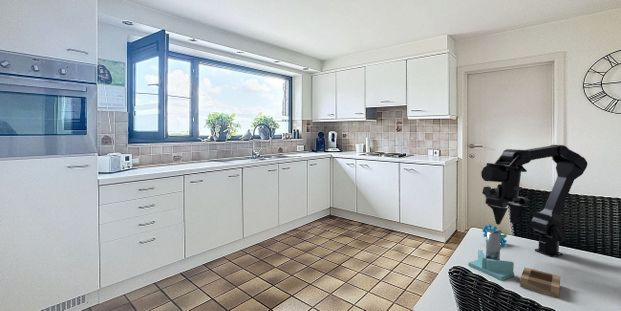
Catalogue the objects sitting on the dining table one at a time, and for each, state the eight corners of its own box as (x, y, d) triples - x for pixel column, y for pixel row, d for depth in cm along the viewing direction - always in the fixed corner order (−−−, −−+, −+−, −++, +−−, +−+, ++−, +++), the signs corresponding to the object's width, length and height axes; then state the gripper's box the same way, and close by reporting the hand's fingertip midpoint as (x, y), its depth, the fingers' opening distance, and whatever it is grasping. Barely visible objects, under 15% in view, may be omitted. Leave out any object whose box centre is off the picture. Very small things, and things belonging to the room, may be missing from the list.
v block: (479, 261, 107) (480, 249, 107) (515, 276, 96) (515, 262, 96) (467, 265, 104) (467, 252, 104) (502, 281, 93) (503, 266, 93)
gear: (490, 245, 118) (480, 222, 125) (481, 251, 123) (472, 229, 129) (514, 247, 120) (503, 225, 127) (504, 253, 125) (494, 231, 131)
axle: (495, 264, 102) (496, 230, 101) (501, 269, 98) (503, 234, 97) (483, 264, 103) (484, 230, 102) (489, 269, 99) (490, 234, 98)
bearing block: (524, 276, 96) (524, 267, 96) (560, 285, 90) (560, 276, 90) (520, 286, 90) (520, 277, 90) (558, 297, 84) (559, 287, 83)
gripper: (502, 179, 122) (498, 216, 123) (474, 179, 113) (469, 218, 114) (533, 184, 112) (527, 224, 113) (504, 184, 103) (498, 227, 104)
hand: (505, 223), depth 111 cm, fingers open, 9 cm apart
